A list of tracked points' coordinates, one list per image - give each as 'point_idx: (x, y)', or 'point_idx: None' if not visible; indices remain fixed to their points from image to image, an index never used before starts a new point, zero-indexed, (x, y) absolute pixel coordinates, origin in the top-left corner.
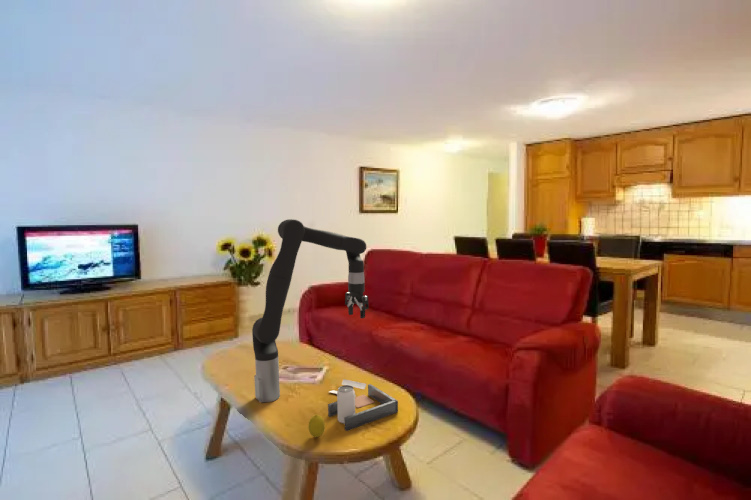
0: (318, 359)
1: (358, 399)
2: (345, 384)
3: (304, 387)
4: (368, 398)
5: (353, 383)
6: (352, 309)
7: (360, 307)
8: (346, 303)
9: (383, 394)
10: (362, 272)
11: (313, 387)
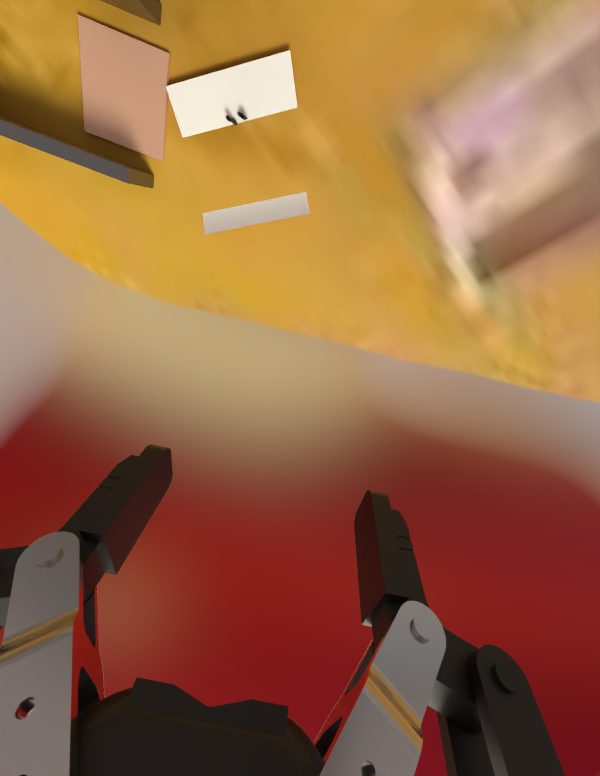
0: (544, 342)
1: (139, 97)
2: (288, 197)
3: (444, 14)
4: (122, 139)
5: (257, 215)
6: (360, 574)
7: (42, 589)
8: (486, 686)
9: (6, 121)
10: None
11: (398, 57)
